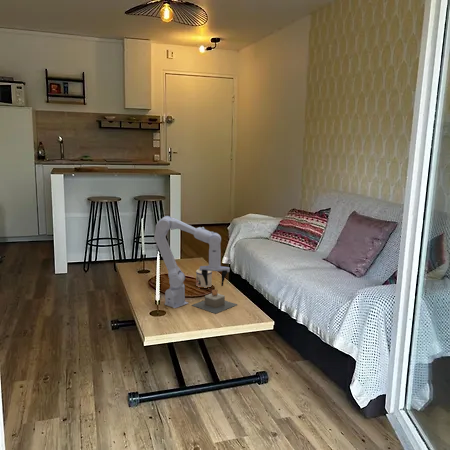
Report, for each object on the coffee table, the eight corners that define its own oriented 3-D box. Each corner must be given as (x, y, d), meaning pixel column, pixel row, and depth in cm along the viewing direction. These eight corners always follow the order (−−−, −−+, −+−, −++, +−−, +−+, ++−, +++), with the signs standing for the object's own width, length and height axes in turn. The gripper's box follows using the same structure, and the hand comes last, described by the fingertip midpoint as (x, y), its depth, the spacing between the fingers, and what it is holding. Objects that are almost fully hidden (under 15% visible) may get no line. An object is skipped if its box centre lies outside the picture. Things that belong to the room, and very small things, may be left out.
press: (215, 313, 213) (215, 303, 213) (191, 305, 224) (191, 296, 223) (237, 305, 225) (237, 295, 224) (213, 297, 236) (213, 288, 235)
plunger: (214, 304, 221) (215, 292, 220) (207, 302, 224) (207, 290, 223) (221, 301, 224) (221, 290, 223) (214, 299, 228) (214, 288, 227)
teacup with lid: (193, 285, 256) (193, 265, 254) (209, 283, 259) (209, 263, 257) (199, 291, 245) (199, 270, 243) (215, 290, 248) (215, 269, 246)
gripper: (198, 259, 217) (198, 287, 219) (228, 261, 216) (228, 288, 218) (200, 256, 224) (200, 282, 226) (230, 257, 223) (229, 283, 225)
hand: (214, 285), depth 223 cm, fingers open, 7 cm apart
